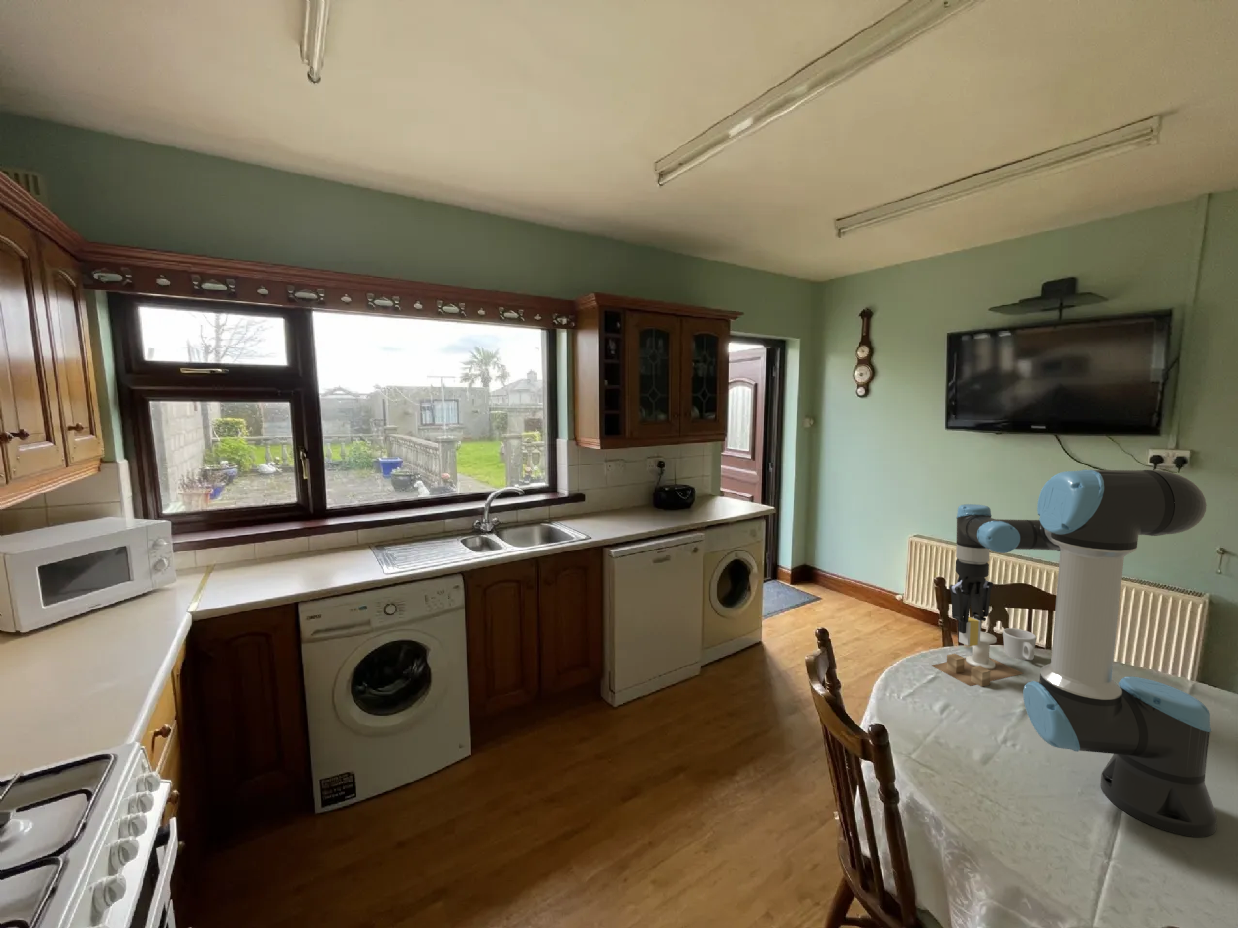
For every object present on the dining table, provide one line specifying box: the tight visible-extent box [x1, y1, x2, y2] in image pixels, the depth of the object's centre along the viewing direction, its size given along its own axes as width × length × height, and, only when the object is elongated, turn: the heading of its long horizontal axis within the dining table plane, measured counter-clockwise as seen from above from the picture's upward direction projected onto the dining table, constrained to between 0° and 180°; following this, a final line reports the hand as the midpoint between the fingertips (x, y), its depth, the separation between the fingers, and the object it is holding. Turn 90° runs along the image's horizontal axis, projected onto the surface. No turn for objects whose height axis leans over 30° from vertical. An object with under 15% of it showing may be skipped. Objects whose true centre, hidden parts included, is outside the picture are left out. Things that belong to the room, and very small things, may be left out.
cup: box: [1002, 627, 1037, 661], centre depth 151 cm, size 11×8×8 cm
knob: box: [965, 630, 997, 670], centre depth 148 cm, size 7×7×9 cm
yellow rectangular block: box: [968, 616, 979, 647], centre depth 141 cm, size 3×3×7 cm
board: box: [931, 653, 1024, 688], centre depth 145 cm, size 13×20×5 cm, turn 107°
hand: (969, 642), depth 141 cm, fingers closed on yellow rectangular block, 3 cm apart
